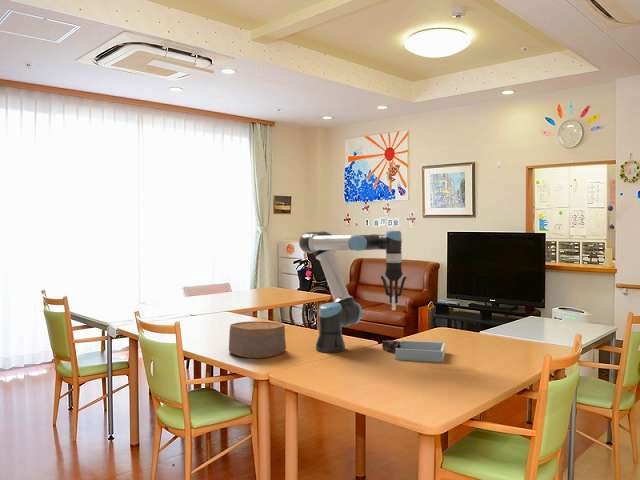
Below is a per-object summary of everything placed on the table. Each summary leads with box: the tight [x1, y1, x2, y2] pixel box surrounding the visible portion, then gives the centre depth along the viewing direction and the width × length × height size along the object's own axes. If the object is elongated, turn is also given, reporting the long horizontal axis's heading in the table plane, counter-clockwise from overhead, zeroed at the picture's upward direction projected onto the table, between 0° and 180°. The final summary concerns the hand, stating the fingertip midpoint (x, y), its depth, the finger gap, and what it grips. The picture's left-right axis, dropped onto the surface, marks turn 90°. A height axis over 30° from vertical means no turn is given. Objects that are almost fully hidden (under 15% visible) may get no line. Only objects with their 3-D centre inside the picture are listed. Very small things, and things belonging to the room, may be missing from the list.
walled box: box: [394, 339, 446, 363], centre depth 264 cm, size 22×20×5 cm
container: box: [228, 321, 287, 359], centre depth 272 cm, size 28×28×15 cm
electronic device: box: [381, 339, 401, 353], centre depth 276 cm, size 4×10×8 cm
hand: (393, 309), depth 267 cm, fingers closed
